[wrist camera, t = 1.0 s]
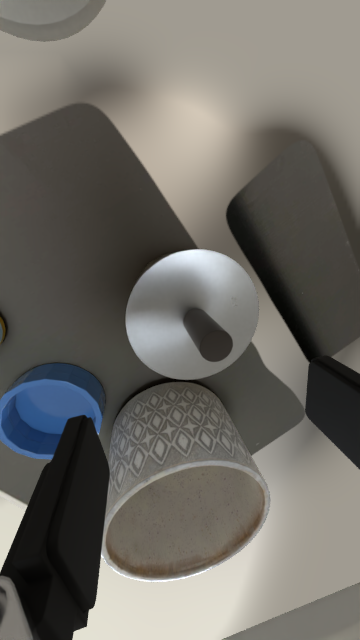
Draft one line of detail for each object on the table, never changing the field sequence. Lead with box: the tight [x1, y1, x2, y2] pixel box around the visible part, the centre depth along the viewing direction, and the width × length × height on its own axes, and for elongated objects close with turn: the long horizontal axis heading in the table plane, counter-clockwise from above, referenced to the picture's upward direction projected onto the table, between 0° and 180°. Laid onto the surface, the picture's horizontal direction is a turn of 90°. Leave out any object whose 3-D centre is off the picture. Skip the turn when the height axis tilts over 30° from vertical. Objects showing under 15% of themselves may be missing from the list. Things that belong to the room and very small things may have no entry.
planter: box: [101, 382, 270, 582], centre depth 30 cm, size 19×19×14 cm
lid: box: [126, 249, 259, 380], centre depth 19 cm, size 14×14×7 cm
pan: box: [0, 363, 106, 459], centre depth 30 cm, size 12×12×4 cm
